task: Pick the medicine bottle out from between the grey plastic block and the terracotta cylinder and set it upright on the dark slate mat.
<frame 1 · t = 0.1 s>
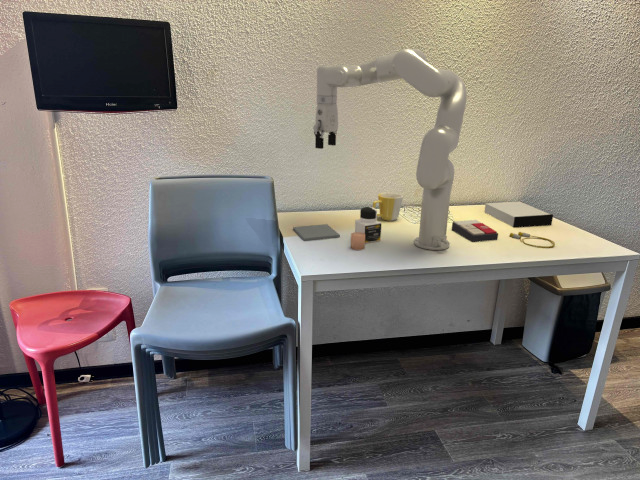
hand: (325, 146, 190), 31 cm above the table, tool pointing down, fingers open, 9 cm apart
grey plastic block: (367, 231, 192), on the table
terracotta cylinder: (357, 247, 175), on the table
medicine bottle: (367, 239, 183), on the table
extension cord: (533, 242, 184), on the table
red and grey box: (473, 236, 191), on the table
slate mat: (316, 233, 189), on the table
mug: (385, 219, 207), on the table
disc drive: (516, 220, 212), on the table
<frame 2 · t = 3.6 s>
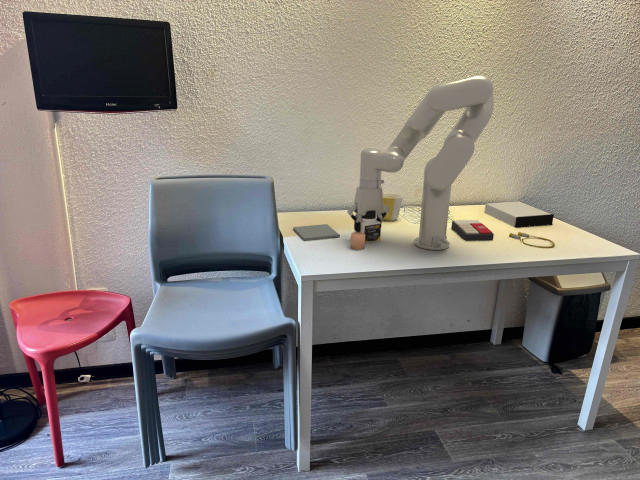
hand: (367, 230, 182), 3 cm above the table, tool pointing down, fingers closed on medicine bottle, 7 cm apart
medicine bottle: (367, 239, 183), on the table, touching gripper
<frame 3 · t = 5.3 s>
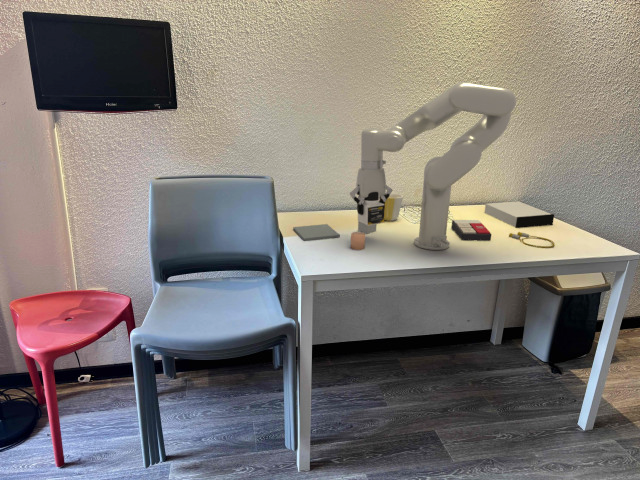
hand: (370, 212, 179), 10 cm above the table, tool pointing down, fingers closed on medicine bottle, 7 cm apart
medicine bottle: (370, 222, 181), point 7 cm above the table, touching gripper
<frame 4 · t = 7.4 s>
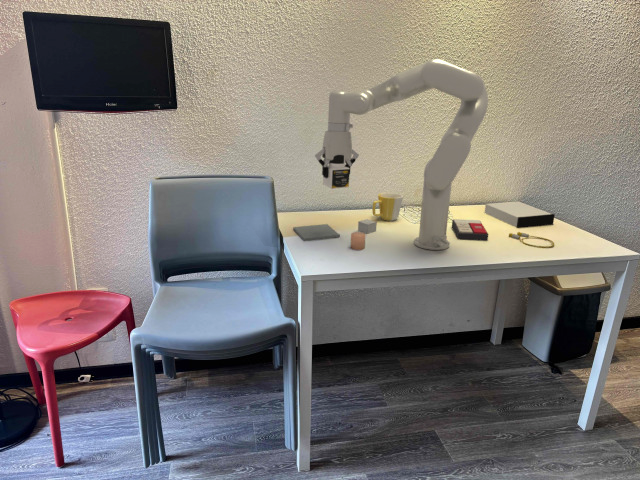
hand: (336, 176, 179), 23 cm above the table, tool pointing down, fingers closed on medicine bottle, 7 cm apart
medicine bottle: (335, 186, 180), point 19 cm above the table, touching gripper
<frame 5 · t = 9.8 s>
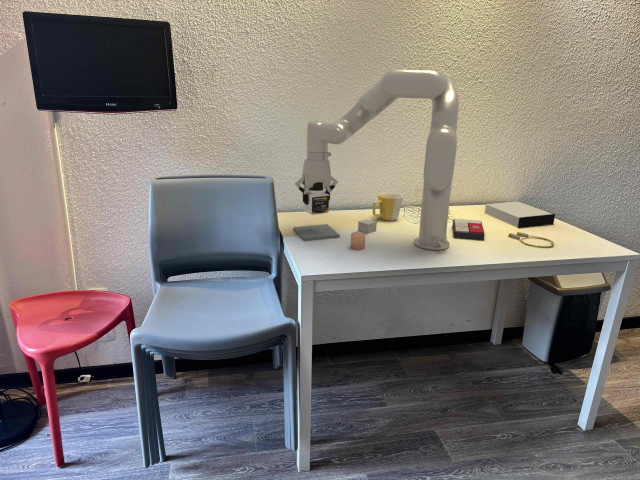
hand: (316, 202, 185), 12 cm above the table, tool pointing down, fingers closed on medicine bottle, 7 cm apart
medicine bottle: (316, 212, 186), point 8 cm above the table, touching gripper
when the fingers open (6 cm above the table, at t = 11.6 s): medicine bottle drops 1 cm, resting on slate mat.
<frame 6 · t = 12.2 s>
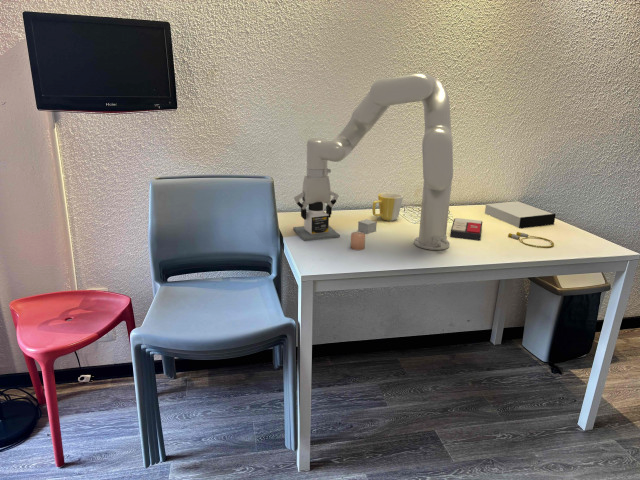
hand: (316, 217, 186), 6 cm above the table, tool pointing down, fingers open, 9 cm apart
medicine bottle: (316, 231, 188), point 1 cm above the table, touching slate mat
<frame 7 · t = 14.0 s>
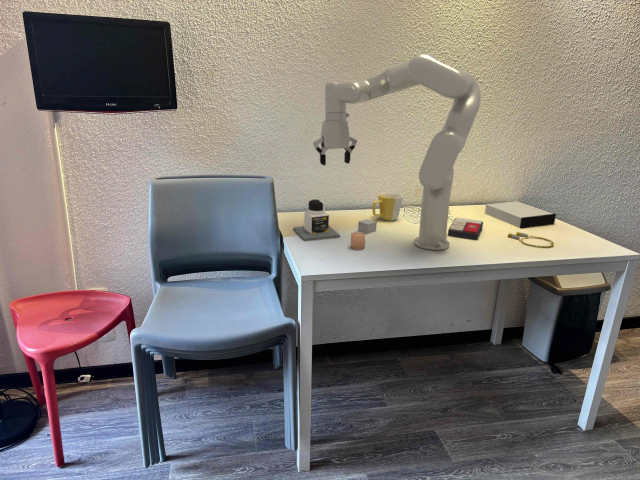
hand: (335, 163, 185), 26 cm above the table, tool pointing down, fingers open, 9 cm apart
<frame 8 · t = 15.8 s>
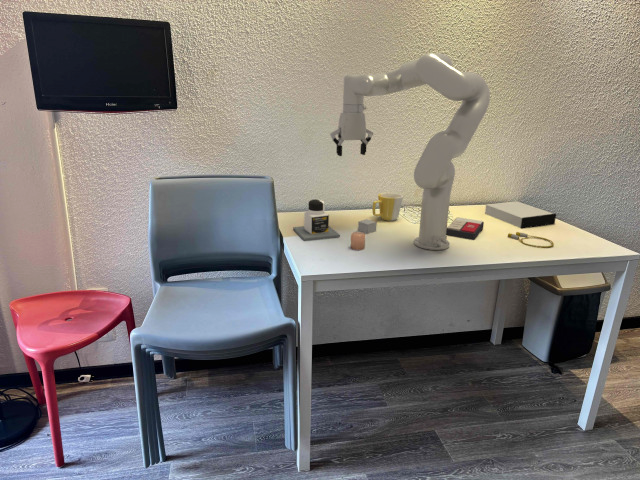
hand: (351, 155, 190), 28 cm above the table, tool pointing down, fingers open, 9 cm apart
at the end: medicine bottle inside the target area on the slate mat (0.1 cm from its centre), point 0.8 cm above the slate mat's base; medicine bottle tilted 0°; the gripper is holding nothing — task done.
